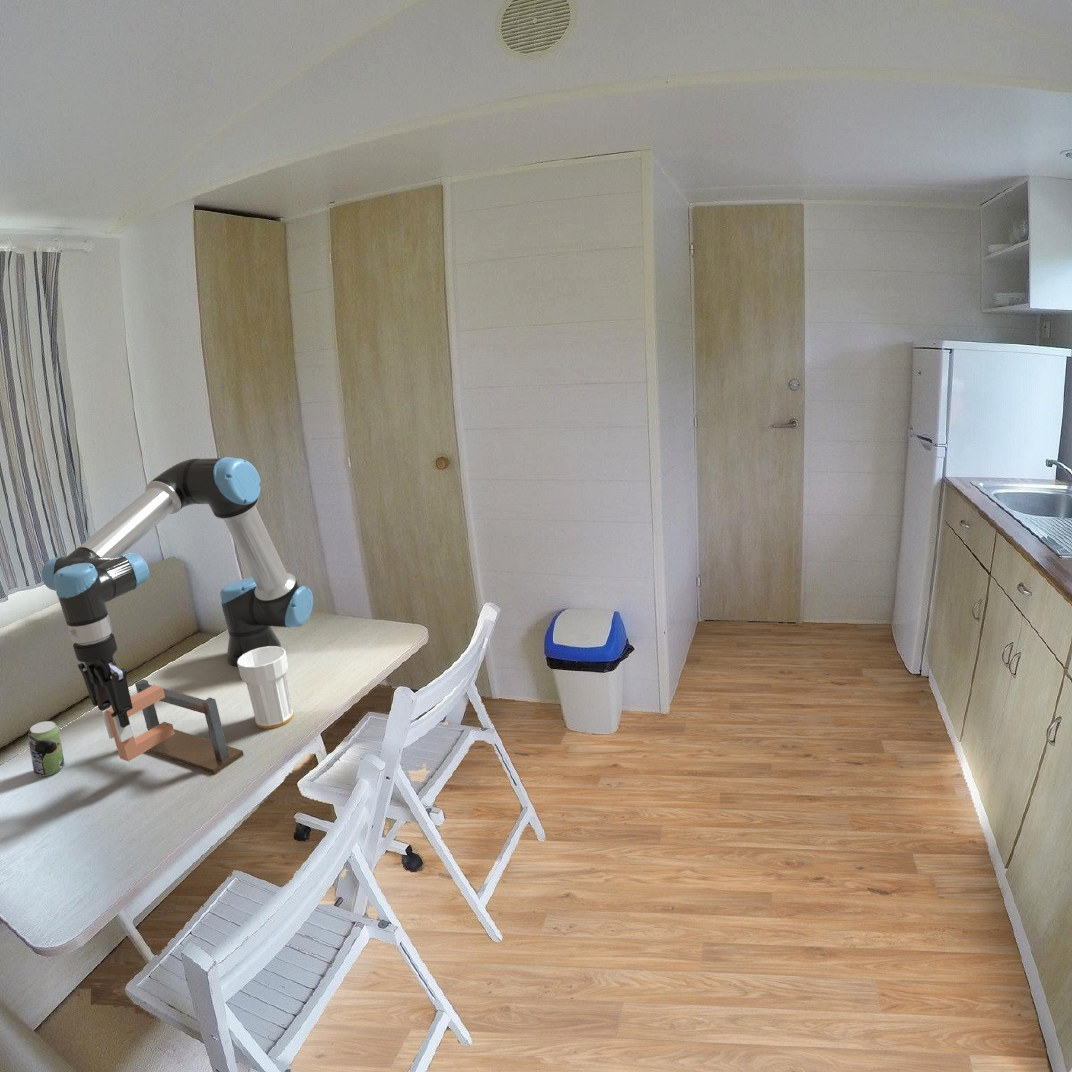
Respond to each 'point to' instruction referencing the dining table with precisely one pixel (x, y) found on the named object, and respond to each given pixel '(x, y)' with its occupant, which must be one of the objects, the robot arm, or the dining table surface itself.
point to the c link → (149, 738)
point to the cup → (267, 685)
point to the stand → (189, 746)
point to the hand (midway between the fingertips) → (121, 736)
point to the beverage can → (46, 748)
